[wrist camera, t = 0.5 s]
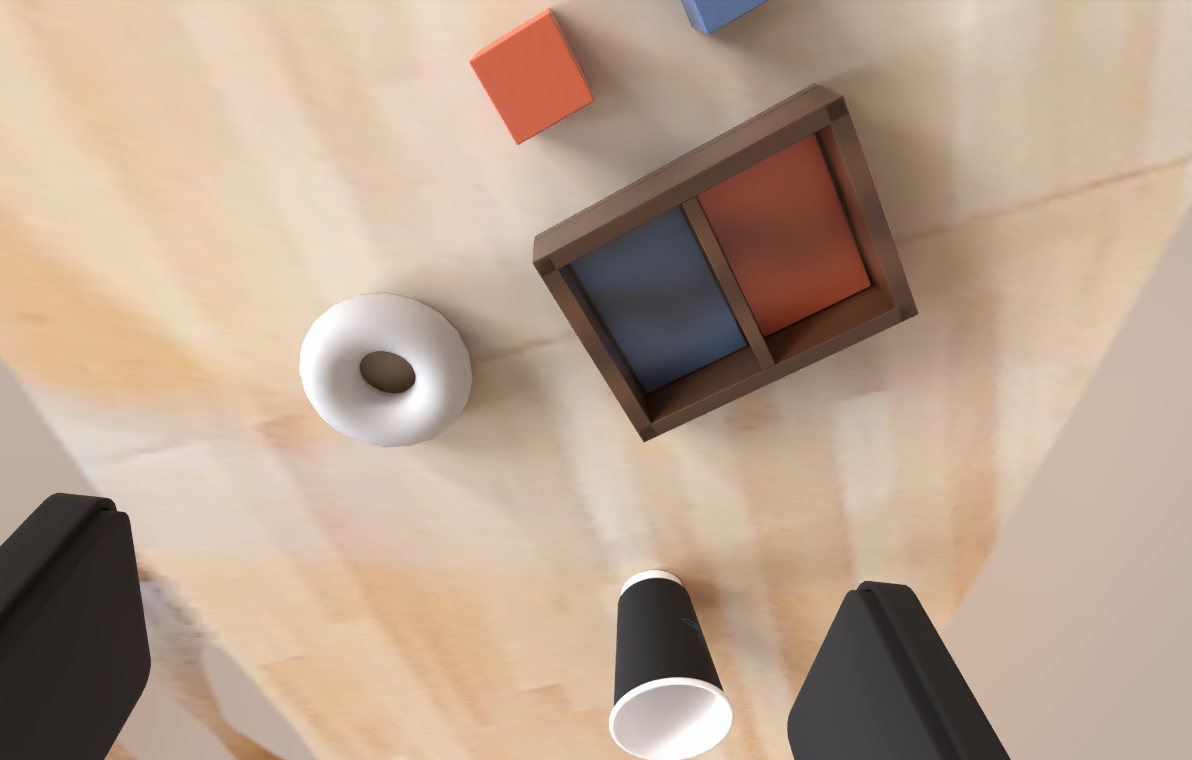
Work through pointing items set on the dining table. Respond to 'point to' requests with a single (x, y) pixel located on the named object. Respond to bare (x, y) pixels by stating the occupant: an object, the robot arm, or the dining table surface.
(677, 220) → the sorting tray
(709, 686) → the dixie cup
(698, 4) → the slate block
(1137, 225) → the dining table surface
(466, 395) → the donut
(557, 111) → the terracotta block
